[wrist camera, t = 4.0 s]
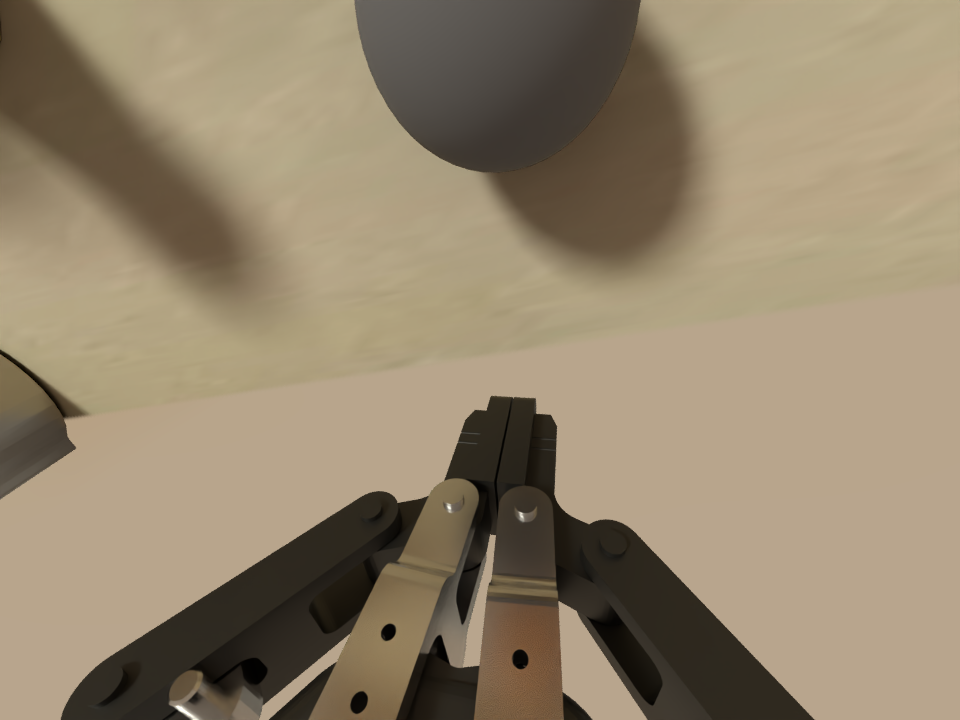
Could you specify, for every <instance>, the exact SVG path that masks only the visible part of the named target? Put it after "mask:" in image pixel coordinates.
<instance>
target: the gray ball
mask: <svg viewBox="0 0 960 720" xmlns="http://www.w3.org/2000/svg"><path fill="white" fill-rule="evenodd" d="M640 1H641V0H355V9H356V17H357V24H358V30H359V34H360V39H361V43H362V47H363V51H364V54H365V57H366V60H367V63H368V66H369V69H370V72H371V74H372V76H373V78H374V81H375V83H376V85H377V88H378V89H379V91H380V93H381V95H382V96H383V98H384V100H385V102H386V104H387V105H388V107H389V109H390V110H391V112H392V113H393V114H394V116H395V117H396V119H397V120H398V121H399V123H400V124H401V125H402V126H403V127H404V129H405V130H406V131H407V132H408V133H409V134H410V135H411V136H412V137H413V138H414V139H415V140H416V141H417V142H418V143H420V144H421V145H422V146H423V147H424V148H426V149H427V150H429V151H430V152H432V153H433V154H435V155H436V156H438V157H439V158H441V159H443V160H445V161H447V162H449V163H451V164H453V165H456V166H459V167H462V168H465V169H468V170H474V171H479V172H498V173H499V172H506V171H514V170H518V169H521V168H525V167H528V166H531V165H534V164H536V163H538V162H541V161H543V160H545V159H547V158H548V157H550V156H552V155H553V154H555V153H557V152H558V151H560V150H561V149H562V148H564V147H565V146H566V145H568V144H569V143H570V142H571V141H573V140H574V139H575V138H576V137H577V136H578V135H579V134H580V133H581V132H582V131H583V130H584V129H585V128H586V127H587V126H588V124H589V123H590V122H591V121H592V119H593V118H594V117H595V116H596V114H597V113H598V112H599V110H600V109H601V107H602V106H603V104H604V103H605V101H606V99H607V98H608V96H609V95H610V93H611V91H612V89H613V87H614V85H615V83H616V81H617V79H618V77H619V75H620V73H621V71H622V68H623V66H624V63H625V60H626V58H627V55H628V52H629V50H630V47H631V43H632V39H633V36H634V32H635V28H636V25H637V19H638V13H639V7H640Z"/></svg>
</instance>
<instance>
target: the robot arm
mask: <svg viewBox="0 0 960 720" xmlns="http://www.w3.org/2000/svg"><path fill="white" fill-rule="evenodd" d="M461 432H462V433H461V434H460V437H459V441H458V443H457V446H456V449H455V452H454V455H453V457H452V460H451V463H450V466H449V469H448V472H447V475H446V478H445V480H444V481H443V482H441V483H439V484H438V485H437V486H436V487H434V489H433V490H432V491H431V493H430V495H429V496H427V497H424V498H422V499H418V500H412V501H406V502H401V503H397V500H396V499H395V497H394V496H393V495H391V494H390V493H387V492H382V491H377V492H372V493H368V494H366V495H364V496H362V497H360V498H359V499H357V500H355V501H354V502H352V503H351V504H349V505H348V506H346V507H344V508H343V509H341V510H340V511H338V512H337V513H335V514H333V515H332V516H330V517H329V518H327V519H326V520H324V521H322V522H321V523H319V524H318V525H316V526H315V527H313V528H311V529H310V530H308V531H307V532H305V533H304V534H302V535H300V536H299V537H297V538H296V539H294V540H293V541H291V542H289V543H288V544H286V545H285V546H283V547H282V548H280V549H279V550H277V551H275V552H274V553H272V554H271V555H269V556H267V557H266V558H264V559H263V560H261V561H260V562H258V563H256V564H255V565H253V566H252V567H250V568H249V569H247V570H245V571H244V572H242V573H241V574H239V575H238V576H236V577H234V578H233V579H231V580H230V581H229V582H227V583H225V584H224V585H222V586H220V587H219V588H217V589H216V590H214V591H212V592H211V593H209V594H208V595H206V596H205V597H203V598H201V599H200V600H198V601H197V602H195V603H193V604H192V605H191V606H189V607H187V608H186V609H184V610H182V611H181V612H180V613H178V614H176V615H175V616H173V617H171V618H170V619H169V620H167V621H166V622H164V623H162V624H161V625H159V626H157V627H156V628H154V629H153V630H151V631H149V632H148V633H146V634H145V635H143V636H142V637H140V638H138V639H137V640H135V641H134V642H132V643H131V644H129V645H127V646H126V647H124V648H123V649H121V650H120V651H118V652H116V653H115V654H113V655H112V656H110V657H109V658H107V659H106V660H105V661H103V662H102V663H100V664H99V665H98V666H97V667H95V669H94V670H92V671H91V672H90V673H89V674H88V675H87V676H86V677H85V678H84V679H83V680H82V682H81V683H80V684H79V685H78V687H77V688H76V689H75V691H74V692H73V694H72V695H71V697H70V698H69V700H68V702H67V704H66V706H65V708H64V710H63V713H62V717H61V720H259V718H260V715H261V711H262V706H263V705H264V704H265V703H266V702H268V701H269V700H270V699H271V698H272V697H274V696H275V695H276V694H277V693H279V692H280V691H281V690H282V689H283V688H285V687H286V686H287V685H288V684H289V683H291V682H292V681H293V680H294V679H295V678H297V677H298V676H299V675H300V674H301V673H303V672H304V671H305V670H306V669H308V668H309V667H310V666H311V665H312V664H314V663H315V662H316V661H317V660H318V659H320V658H321V657H322V656H323V655H325V654H326V653H327V652H328V651H329V650H331V649H332V648H333V647H334V646H335V645H337V644H338V643H339V642H340V641H341V640H343V639H344V638H345V637H346V636H347V635H349V634H350V633H351V634H350V636H349V638H348V640H347V642H346V644H345V646H344V649H343V650H342V653H341V655H340V657H339V659H338V661H337V662H336V663H334V664H333V665H331V666H330V667H328V668H327V669H326V670H324V671H323V672H322V673H321V674H319V675H318V676H317V677H316V678H315V679H314V680H313V681H312V682H310V683H309V684H308V685H307V686H306V687H305V688H304V689H303V690H301V691H300V692H299V693H298V694H297V695H296V696H295V697H294V698H293V699H292V700H290V701H289V702H288V703H287V704H286V705H285V706H284V707H282V708H281V709H280V710H279V711H278V712H277V713H276V714H275V715H274V716H273V717H271V718H270V719H269V720H592V719H591V718H590V716H589V715H588V714H587V713H586V712H585V710H583V709H582V708H581V707H580V706H579V705H578V704H577V703H576V702H575V701H574V700H572V699H571V698H570V697H569V696H567V695H566V694H565V693H563V692H562V671H561V650H560V629H559V606H558V601H560V602H562V603H564V604H565V605H567V606H569V607H571V608H573V609H574V610H576V611H577V613H578V615H579V617H580V619H581V620H582V622H583V624H584V625H585V627H586V628H587V630H588V631H589V633H590V634H591V636H592V637H593V639H594V640H595V642H596V643H597V645H598V646H599V647H600V649H601V651H602V652H603V654H604V655H605V656H606V658H607V660H608V661H609V662H610V664H611V666H612V667H613V668H614V670H615V672H616V673H617V675H618V676H619V677H620V679H621V680H622V682H623V684H624V685H625V686H626V688H627V689H628V691H629V692H630V694H631V696H632V697H633V699H634V700H635V701H636V703H637V704H638V706H639V707H640V709H641V710H642V712H643V713H644V715H645V716H646V718H647V719H648V720H814V719H813V718H812V717H811V716H810V715H809V714H808V713H807V712H806V710H805V709H803V707H802V706H801V705H800V704H799V703H798V702H797V701H796V700H795V699H794V698H793V697H792V696H791V695H790V694H789V693H788V692H787V691H786V690H785V689H784V687H783V686H782V685H781V684H780V683H779V682H778V681H777V680H776V679H775V678H774V677H773V676H772V675H771V674H770V673H769V672H768V671H767V670H766V669H765V668H764V667H763V666H762V665H761V663H759V661H758V660H757V659H755V657H754V656H753V655H752V654H751V653H750V652H749V651H748V650H747V649H746V648H745V647H744V646H743V645H742V644H741V643H740V642H739V641H738V640H737V638H736V637H735V636H734V635H733V634H732V633H731V632H730V631H729V630H728V629H727V628H726V627H725V626H724V625H723V624H722V623H721V622H720V621H719V620H718V619H717V618H716V617H715V615H714V614H713V613H712V612H711V611H710V610H709V609H708V608H707V607H706V606H705V605H704V604H703V603H702V602H701V601H700V600H699V599H698V598H697V597H696V596H695V595H694V594H693V593H692V592H691V590H690V589H689V588H688V587H687V586H686V585H685V584H684V583H683V582H682V581H681V580H680V579H679V578H678V577H677V576H676V575H675V574H674V573H673V572H672V571H671V570H670V569H669V567H668V566H667V565H666V564H665V563H664V562H663V561H662V560H661V559H660V558H659V557H658V556H657V555H656V554H655V553H654V552H653V551H652V550H651V549H650V548H649V547H648V546H647V545H646V544H645V542H643V540H641V538H640V537H639V536H638V535H637V534H636V533H635V532H634V531H633V530H631V529H630V528H629V527H628V526H626V525H624V524H622V523H620V522H617V521H613V520H598V521H595V522H593V523H591V524H590V525H589V524H587V523H585V522H582V521H580V520H578V519H576V518H574V517H571V516H570V515H568V514H567V513H566V512H565V511H564V510H563V509H562V508H561V507H560V506H559V504H558V503H557V501H556V498H555V495H554V489H555V466H556V438H557V437H556V435H557V426H556V424H555V422H554V420H553V418H552V416H551V415H545V414H536V399H535V398H520V397H514V399H513V397H501V396H491V397H490V401H489V404H488V407H487V411H482V410H475V411H474V412H473V413H472V414H471V415H470V416H469V417H468V418H467V419H466V420H465V423H464V426H463V429H462V431H461ZM75 449H76V447H75V446H74V445H73V444H72V442H71V441H70V440H69V438H68V437H67V430H66V424H65V422H64V419H63V417H62V415H61V413H60V411H59V410H58V408H57V407H56V405H55V404H54V402H53V401H52V400H51V399H50V397H49V396H48V395H47V394H46V393H45V391H44V390H43V389H42V388H41V387H40V386H39V385H38V384H37V383H36V382H35V381H34V380H32V379H31V378H30V377H29V376H28V375H27V374H26V373H24V372H23V371H22V370H21V369H20V368H18V367H17V366H16V365H15V364H13V363H12V362H10V361H9V360H8V359H6V358H5V357H3V356H2V355H0V499H1V498H3V497H4V496H6V495H7V494H9V493H10V492H12V491H13V490H15V489H16V488H18V487H19V486H21V485H22V484H24V483H25V482H27V481H28V480H30V479H31V478H33V477H34V476H36V475H37V474H39V473H40V472H42V471H43V470H45V469H46V468H48V467H49V466H51V465H52V464H54V463H55V462H57V461H58V460H60V459H61V458H63V457H64V456H66V455H67V454H69V453H70V452H72V451H73V450H75ZM490 534H491V535H496V541H495V551H494V562H493V572H492V580H491V582H490V583H489V586H488V591H487V599H486V608H485V618H484V628H483V638H482V647H481V657H480V666H473V667H464V668H462V667H463V663H464V657H465V650H466V638H467V631H468V627H469V623H470V619H471V615H472V612H473V608H474V604H475V600H476V597H477V593H478V589H479V586H480V582H481V578H482V575H483V571H484V567H485V563H486V552H487V547H488V542H489V537H490Z"/></svg>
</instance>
